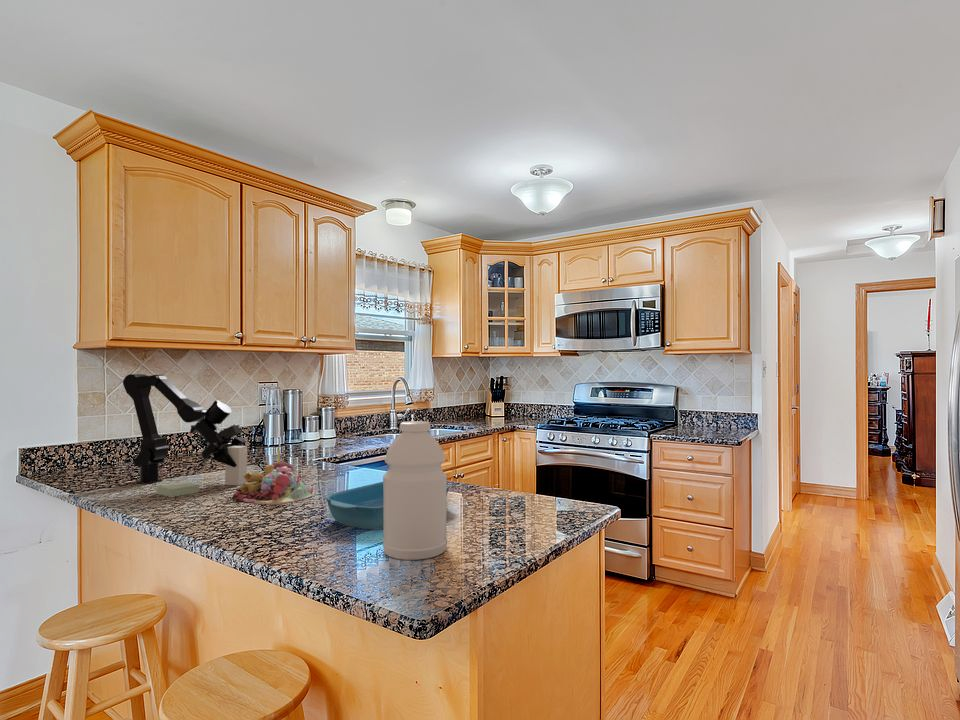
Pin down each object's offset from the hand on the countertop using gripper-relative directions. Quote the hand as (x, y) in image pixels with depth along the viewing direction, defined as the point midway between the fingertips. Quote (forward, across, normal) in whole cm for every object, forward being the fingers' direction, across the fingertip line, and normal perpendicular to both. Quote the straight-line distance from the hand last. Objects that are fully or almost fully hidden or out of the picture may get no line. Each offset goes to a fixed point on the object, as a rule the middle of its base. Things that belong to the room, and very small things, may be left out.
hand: (239, 465), depth 191 cm
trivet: (-4, -16, +13) cm, 21 cm away
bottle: (+60, -63, -51) cm, 101 cm away
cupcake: (+14, +5, -4) cm, 15 cm away
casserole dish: (+51, -35, -41) cm, 74 cm away
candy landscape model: (+20, -15, -10) cm, 27 cm away
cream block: (+4, 0, +6) cm, 7 cm away
